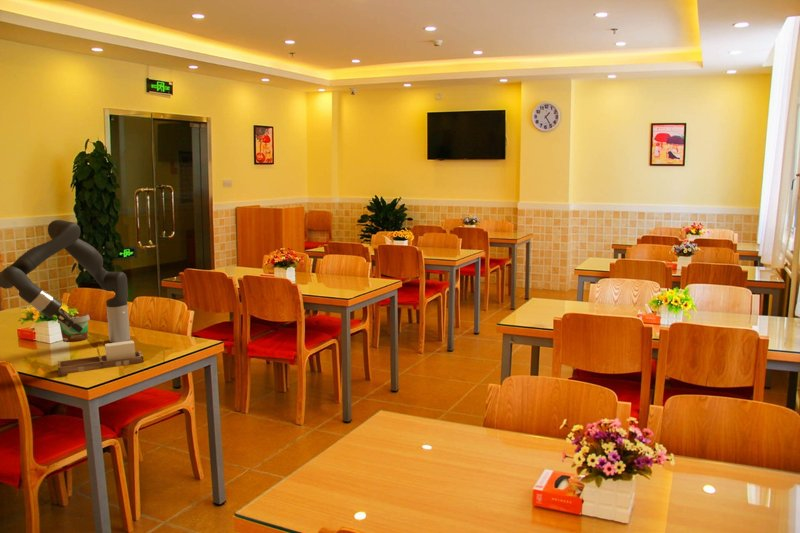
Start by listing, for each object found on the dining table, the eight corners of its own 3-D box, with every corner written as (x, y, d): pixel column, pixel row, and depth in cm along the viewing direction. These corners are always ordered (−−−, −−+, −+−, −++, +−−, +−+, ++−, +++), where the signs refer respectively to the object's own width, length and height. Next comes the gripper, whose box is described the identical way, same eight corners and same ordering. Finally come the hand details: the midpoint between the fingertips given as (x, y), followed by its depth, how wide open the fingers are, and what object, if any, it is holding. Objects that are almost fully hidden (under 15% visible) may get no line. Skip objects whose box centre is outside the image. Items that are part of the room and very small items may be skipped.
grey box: (106, 362, 287) (105, 343, 286) (134, 358, 292) (133, 340, 291) (107, 365, 283) (105, 346, 282) (135, 361, 288) (134, 342, 286)
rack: (58, 369, 282) (57, 361, 281) (140, 358, 296) (140, 350, 295) (58, 376, 272) (57, 368, 272) (143, 364, 286) (143, 356, 286)
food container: (65, 344, 272) (63, 320, 270) (59, 342, 276) (57, 317, 275) (96, 338, 281) (94, 315, 279) (90, 336, 285) (88, 313, 284)
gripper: (52, 299, 266) (88, 325, 273) (52, 293, 279) (86, 318, 286) (38, 314, 265) (74, 339, 272) (39, 307, 277) (73, 332, 284)
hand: (80, 328), depth 279 cm, fingers closed on food container, 7 cm apart
